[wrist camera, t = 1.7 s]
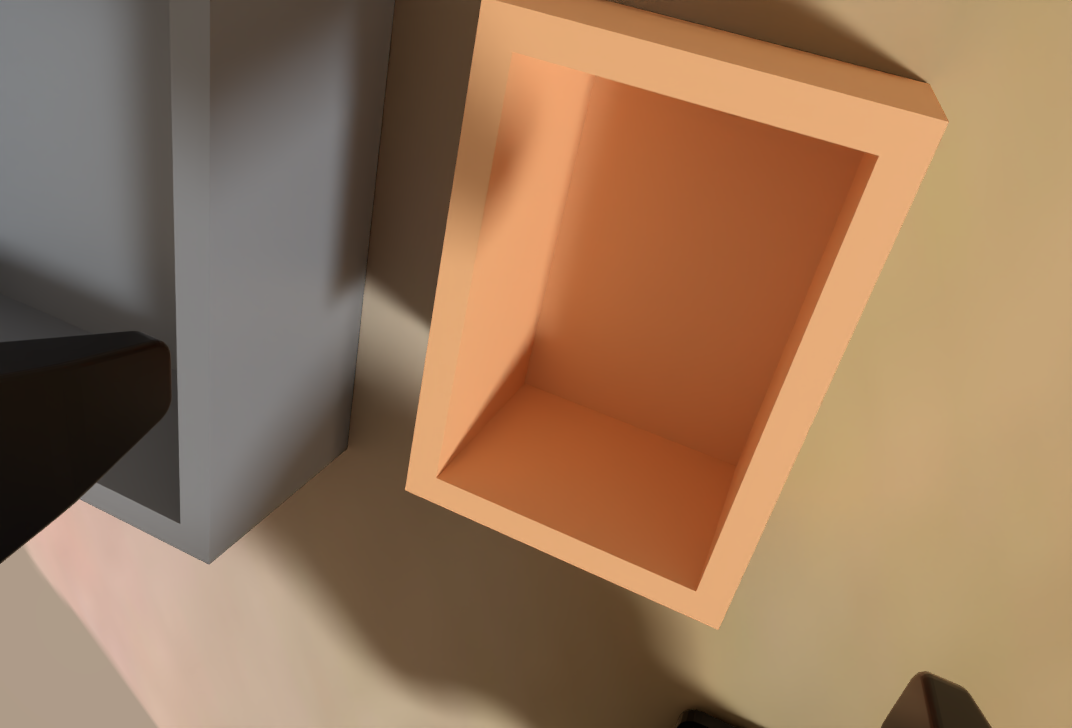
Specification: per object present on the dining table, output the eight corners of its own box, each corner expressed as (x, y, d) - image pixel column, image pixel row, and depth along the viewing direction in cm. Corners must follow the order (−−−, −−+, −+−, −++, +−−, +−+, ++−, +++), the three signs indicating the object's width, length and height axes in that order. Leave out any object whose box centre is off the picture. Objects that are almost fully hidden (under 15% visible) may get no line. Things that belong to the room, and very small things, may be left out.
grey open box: (406, -108, 16) (209, -151, 11) (347, 448, 23) (209, 564, 18) (-94, -228, 19) (-403, -299, 15) (-15, 289, 26) (-210, 352, 21)
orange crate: (929, 84, 14) (948, 121, 10) (756, 483, 18) (718, 629, 14) (592, -4, 15) (482, -4, 11) (507, 384, 20) (405, 490, 16)
